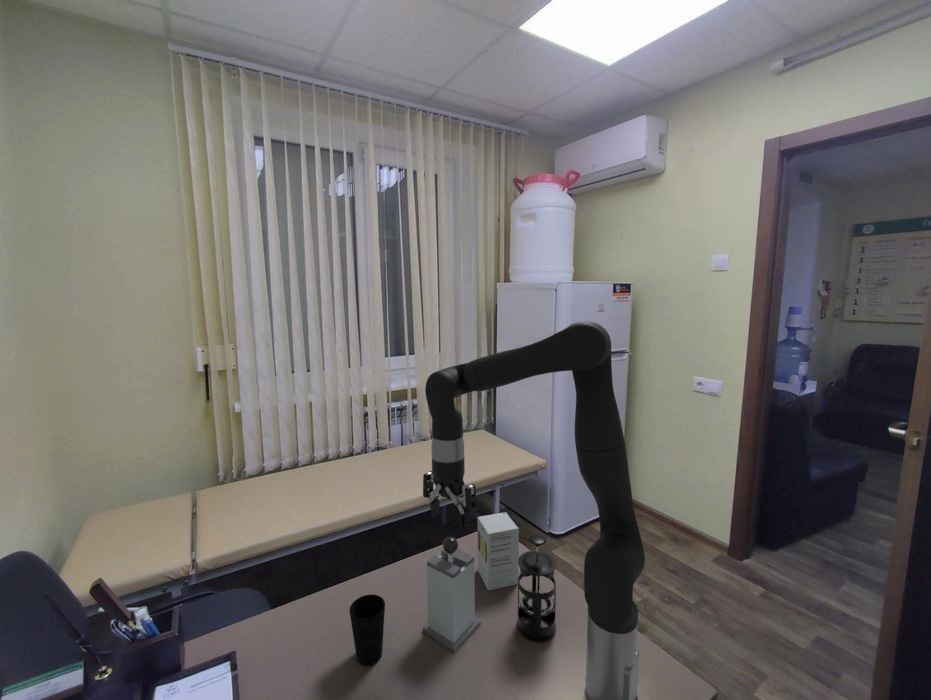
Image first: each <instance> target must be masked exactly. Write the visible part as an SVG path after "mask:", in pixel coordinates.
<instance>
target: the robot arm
mask: <svg viewBox="0 0 931 700" xmlns="http://www.w3.org/2000/svg"><path fill="white" fill-rule="evenodd" d="M612 363H613V362H612V341H611V336H610V335H609V333H608V331H607V330H606V328H604V327H603V326H602V325H600V324H599V323H597V322H594V321H578V322H574V323H572V324H570V325H568V326H567V327H565V328H563V329H562V330H560V331H558V332H555V333H554V334H551V335H549V336H548V337H546V338H544V339H541V340H539V341H536V342H534V343H533V342H532V343H531V344H528V345H524V346H521V347H518V348H513V349H509V350H507V349H506V350H504V351H500V352H499V351H498V352H496V353H492V354H488V355H485V356H482V357H478V358H475V359H473V360H470V361H468V362H466V363H461V364H456V365H453V366H449V367H445V368H442V369H439V370H437V371H435V372H432V373H431V374H430V375H429V376H428V378H427V379H426V381H425V382H426V383H425V390H424V392H425V399H426V403H427V407H428V411H429V413H430V416H431V434H432V435H431V470H430V471H428V472H426V473H424V474H423V476H422V495H423V498H427V499H428V502H429V505H430V507H429V508H430V509H429V510H430V511H429V512H430V514H431V517H432V518H437V517H439V515H440V514H441V511H440V510H441V508H440V505H441V503H440V499H439V498H440V497H441V498H446V499H448V500H450V501H452V504H454V506H456V508H457V510H458V511H459V528H460V529H462V530H464V529H465V528H467V527H468V526H469V524H470V514H472V513H473V512H474V511H476V510H477V508H478V505H477V502H478V501H477V488H476V484H475V483H472V484H465V481H464V476H465V471H466V470H465V467H466V466H465V441H464V427H463V425H464V423H463V419H464V418H463V414H462V413H461V411H460V410H458V409H456V404H455V398H457V397H460V396H462V395H466V394H469V393H472V392H477V393H478V392H484V391H489V390H493V389H497V388H500V387H503V386H506V385H509V384H513V383H516V382H519V381H522V380H525V379H530V378H532V377H536V376H540V375H544V374H551V373H552V374H553V373H558V372H570V371H571V372H572V377H573V382H574V388H575V414H574V443H575V450H576V459H577V463H578V464H577V465H578V468H579V472H580V475H581V477H582V479H583V481H584V484H585V485H586V487H587V488H588V490H589V492H590V493H591V494H592V496H593V498H594V500H595V503H596V507H597V509H598V510H597V512H598V519H599V531H600V532H599V537H598V538H597V539H596V541H595V542H594V543H593V544H591V546H590V547H589V548H588V549H587V551H586V553H585V557H584V564H583V581H584V582H583V583H584V584H583V586H584V587H583V588H584V589H583V590H584V591H583V592H584V600H585V602H586V605H587V625H586V626H587V627H586V657H585V658H586V662H585V663H586V664H585V692H586V694H587V698H588V699H589V700H636V699H637V697H636V696H638V686H639V685H638V683H639V680H638V679H639V665H640V664H639V663H640V660H639V659H640V653H639V651H637V641H638V640H637V637H638V623H639V622H638V621H639V609H638V606H637V604H636V602H635V600H634V597H633V594H634V593H633V592H634V585H635V583H636V581H637V580H638V579H639V577H640V575H641V574H642V573H643V570H644V567H645V562H646V555H645V548H644V545H643V541H642V537H641V534H640V533H641V532H640V530H639V524H638V522H637V517H636V514H635V508H634V503H633V494H632V485H631V477H630V473H629V471H630V470H629V462H628V454H627V448H626V441H625V436H624V432H623V431H624V430H623V427H622V420H621V416H620V411H619V408H618V403H617V400H616V396H615V390H614V383H613V382H614V381H613V371H612V370H613V368H612V366H613V365H612ZM434 485H435V487H434ZM459 496H460V498H458V497H459ZM635 698H636V699H635Z"/></svg>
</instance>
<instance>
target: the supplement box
mask: <svg viewBox="0 0 931 700" xmlns="http://www.w3.org/2000/svg"><path fill="white" fill-rule="evenodd" d="M519 529H520V528H519V527H518V526H517V525H516V523H515V522H514V521H513V520H512V518H511V517H510V516H509V514H508V512H506V511H504V512H500V513H492V514H488V515H481V516H477V571H478V573H479V575H480V577H481V579H482V581H483V584H484V586H485V587H486V590H487V591H493V590H498V589H502V588H506V587H511V586H515V585H518V577H519V564H518V559H519V549H520V547H519V543H520V537H519V536H520V530H519Z"/></svg>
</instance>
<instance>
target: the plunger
mask: <svg viewBox="0 0 931 700" xmlns="http://www.w3.org/2000/svg"><path fill="white" fill-rule="evenodd" d="M458 548H459V542H458V540H457V539H456V537H453V536H449V537H448V536H447V537H446V538H445V539H444V541H443V543H442V549H444V551H445V552H446V553H448V562H449V563H451V564H453V553H454V552H456V550H457V549H458Z"/></svg>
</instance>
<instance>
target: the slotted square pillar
mask: <svg viewBox="0 0 931 700" xmlns="http://www.w3.org/2000/svg"><path fill="white" fill-rule="evenodd" d="M426 580H427V582H426V584H427V623H426V624H425V625H423V626H422V632H423V633H425V634H427V636H430V638H432V639H433V640H435V641H437V642H438V643H440V644H441V645H442V646H444V647H446V648H447V649H450V651H453V652H454V653H457V651H458V650H459V649H460V648H461V647H462V645H464V643H466V641H467V640H468V639H469V638H470V637H471V636H472V634H473V633H474V632H475V631H476V630H477V629H478V628H480V627H479V626H481V623H482V622H481V619H478V618H476V612H475V611H476V609H475V608H476V607H475V606H476V605H475V604H476V602H475V601H476V600H475V599H476V597H475V594H476V593H475V592H476V591H475V585H476V584H475V556H474V555H471V554H469V553H467V552H465V551H462V550H460V549H457V550H456V552H454V553H453V564H451V563H449V562H448V553H446V552H445V551H444V549H443V548H442V549H441V550H440V555H438V556H437V555H433V556H432V557H431V558H429V559H427V560H426Z"/></svg>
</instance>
